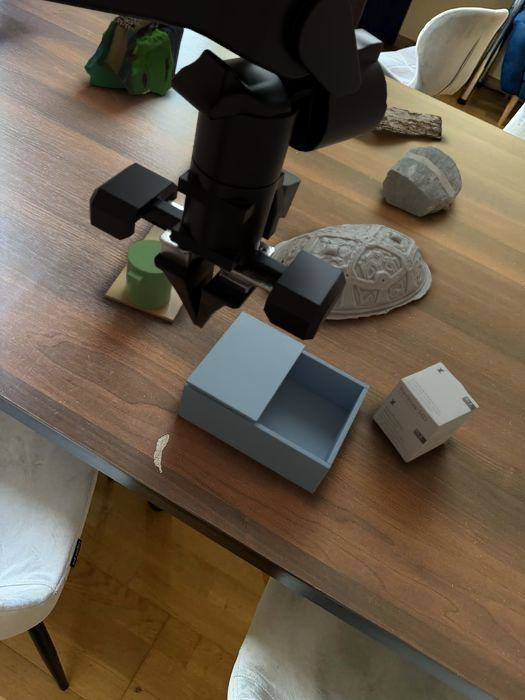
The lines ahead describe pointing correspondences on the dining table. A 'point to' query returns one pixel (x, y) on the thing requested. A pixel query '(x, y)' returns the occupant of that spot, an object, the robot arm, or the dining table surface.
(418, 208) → the decorative stone
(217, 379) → the flap
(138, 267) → the pot
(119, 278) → the board
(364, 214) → the dining table surface
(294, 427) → the carton
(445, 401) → the white cardboard box
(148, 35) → the sculpture
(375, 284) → the turtle shell
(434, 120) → the driftwood
